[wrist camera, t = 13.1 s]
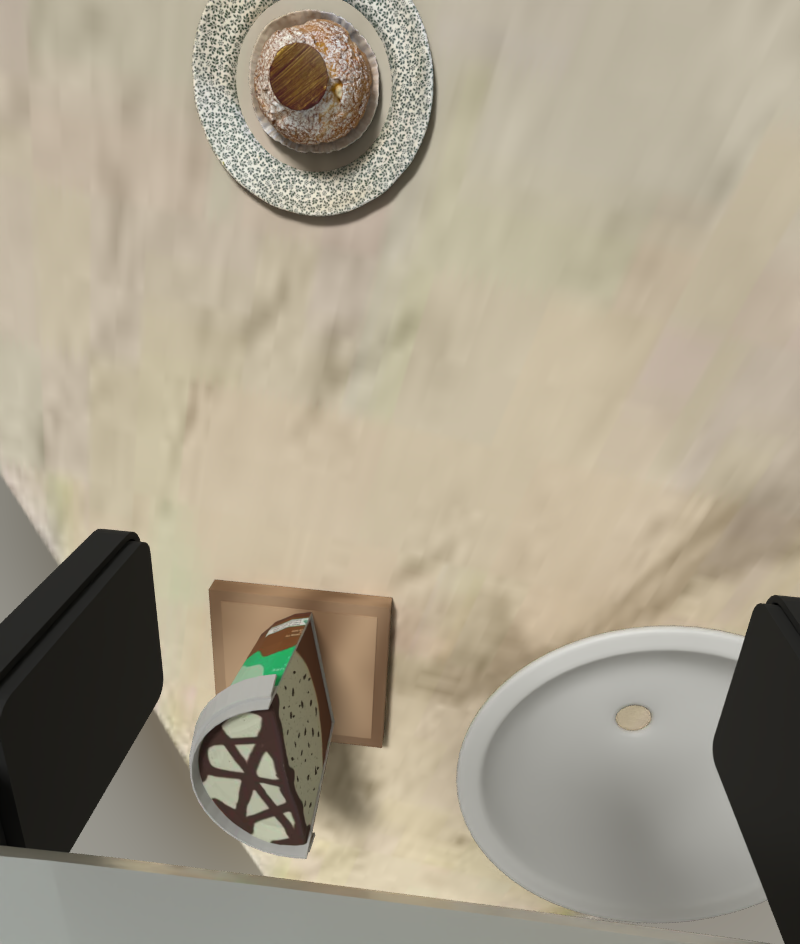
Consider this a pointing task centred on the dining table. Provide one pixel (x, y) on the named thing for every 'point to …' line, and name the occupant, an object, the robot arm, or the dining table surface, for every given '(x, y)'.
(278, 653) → the food container
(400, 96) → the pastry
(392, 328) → the dining table surface
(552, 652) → the soup bowl
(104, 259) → the dining table surface
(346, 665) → the board
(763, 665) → the robot arm
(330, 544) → the dining table surface
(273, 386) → the dining table surface
